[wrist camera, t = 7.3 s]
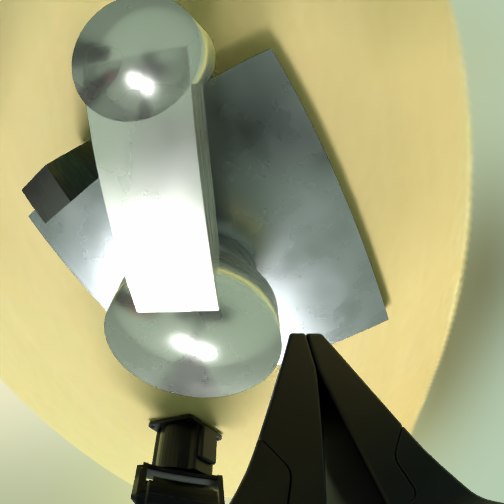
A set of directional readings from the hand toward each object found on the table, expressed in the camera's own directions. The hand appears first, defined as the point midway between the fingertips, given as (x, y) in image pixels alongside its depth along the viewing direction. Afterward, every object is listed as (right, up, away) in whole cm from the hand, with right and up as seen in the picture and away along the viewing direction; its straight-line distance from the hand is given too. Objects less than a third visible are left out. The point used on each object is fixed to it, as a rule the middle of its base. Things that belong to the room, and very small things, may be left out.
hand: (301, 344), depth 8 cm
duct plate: (-4, +3, +12) cm, 13 cm away
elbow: (-5, +4, +8) cm, 10 cm away
